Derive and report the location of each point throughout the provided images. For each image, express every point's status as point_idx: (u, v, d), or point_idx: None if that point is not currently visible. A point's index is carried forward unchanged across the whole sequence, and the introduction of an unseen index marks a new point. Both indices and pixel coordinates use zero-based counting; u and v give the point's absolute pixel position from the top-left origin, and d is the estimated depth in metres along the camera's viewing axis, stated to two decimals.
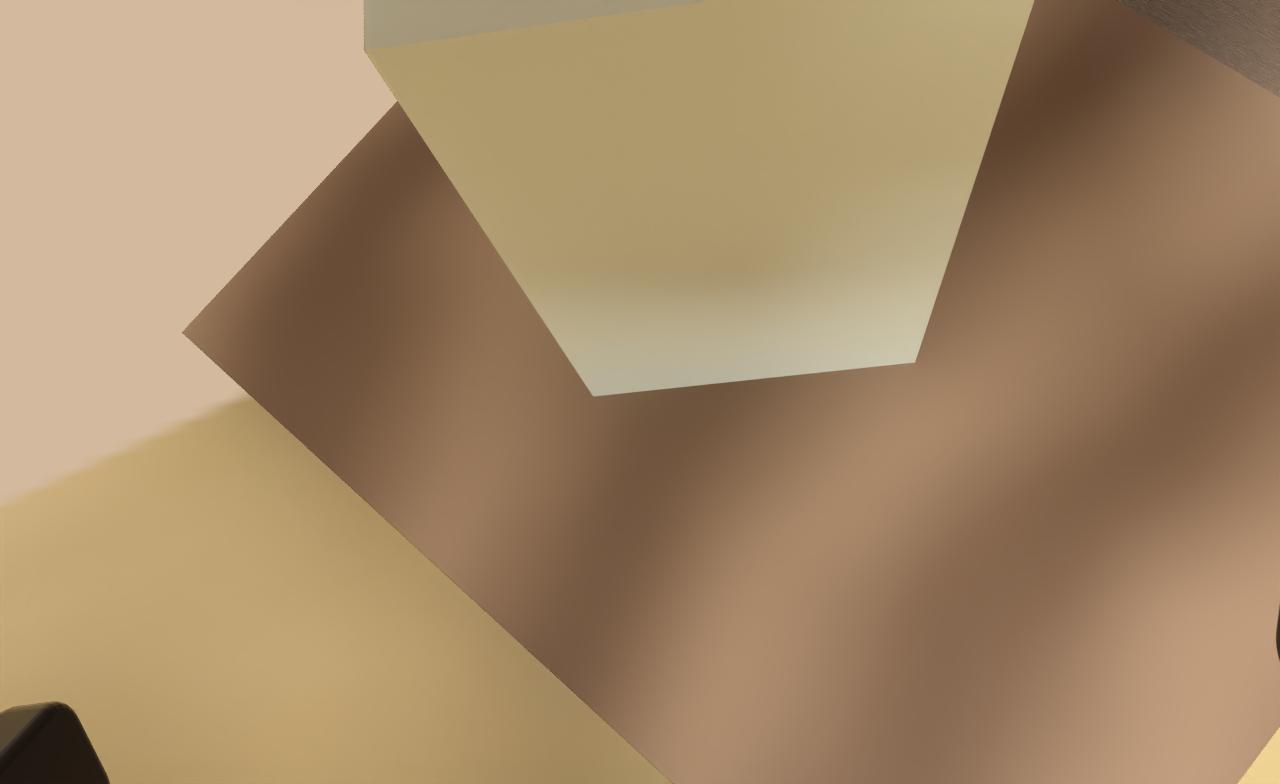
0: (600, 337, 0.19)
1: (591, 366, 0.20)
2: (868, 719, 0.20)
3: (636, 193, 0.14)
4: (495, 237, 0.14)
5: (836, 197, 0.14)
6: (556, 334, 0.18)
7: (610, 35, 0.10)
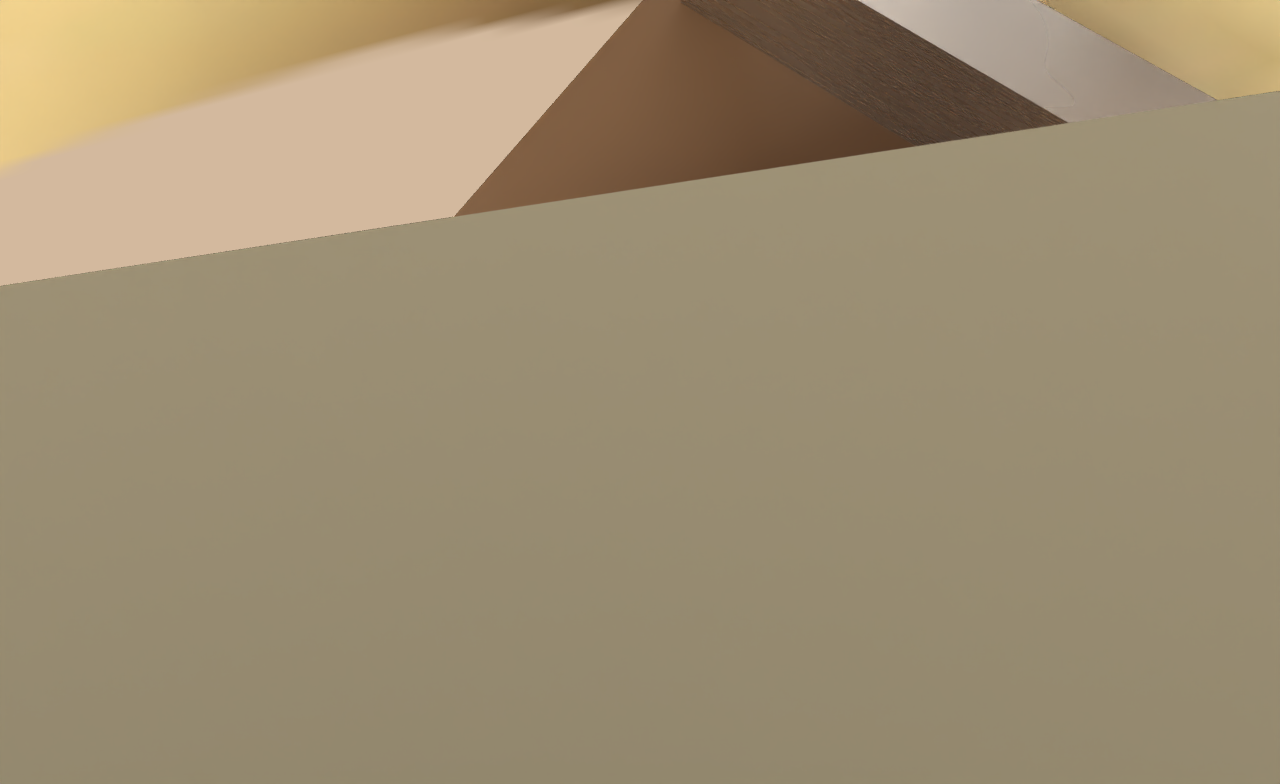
0: None
1: None
2: None
3: None
4: None
5: None
6: None
7: None
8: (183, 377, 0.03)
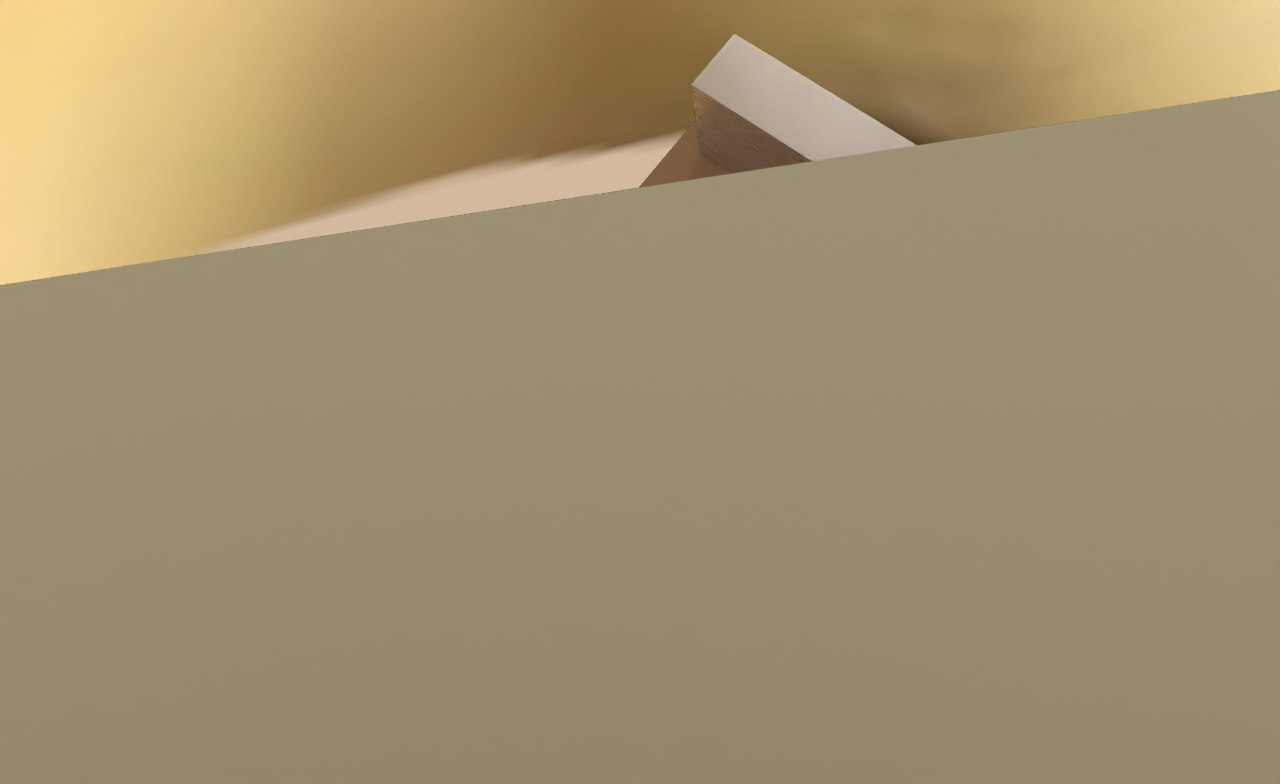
0: None
1: None
2: None
3: None
4: None
5: None
6: None
7: None
8: (183, 377, 0.03)
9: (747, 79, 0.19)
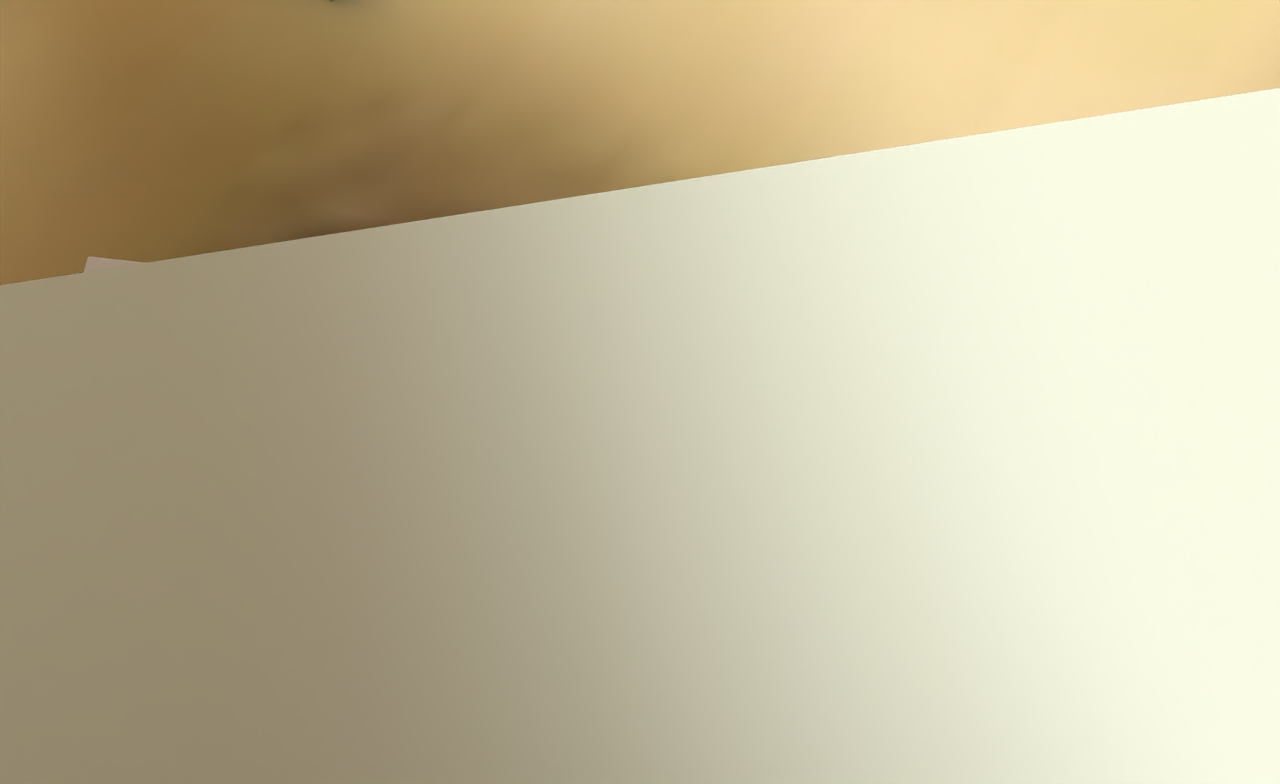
0: None
1: None
2: None
3: None
4: None
5: None
6: None
7: None
8: (178, 377, 0.03)
9: None
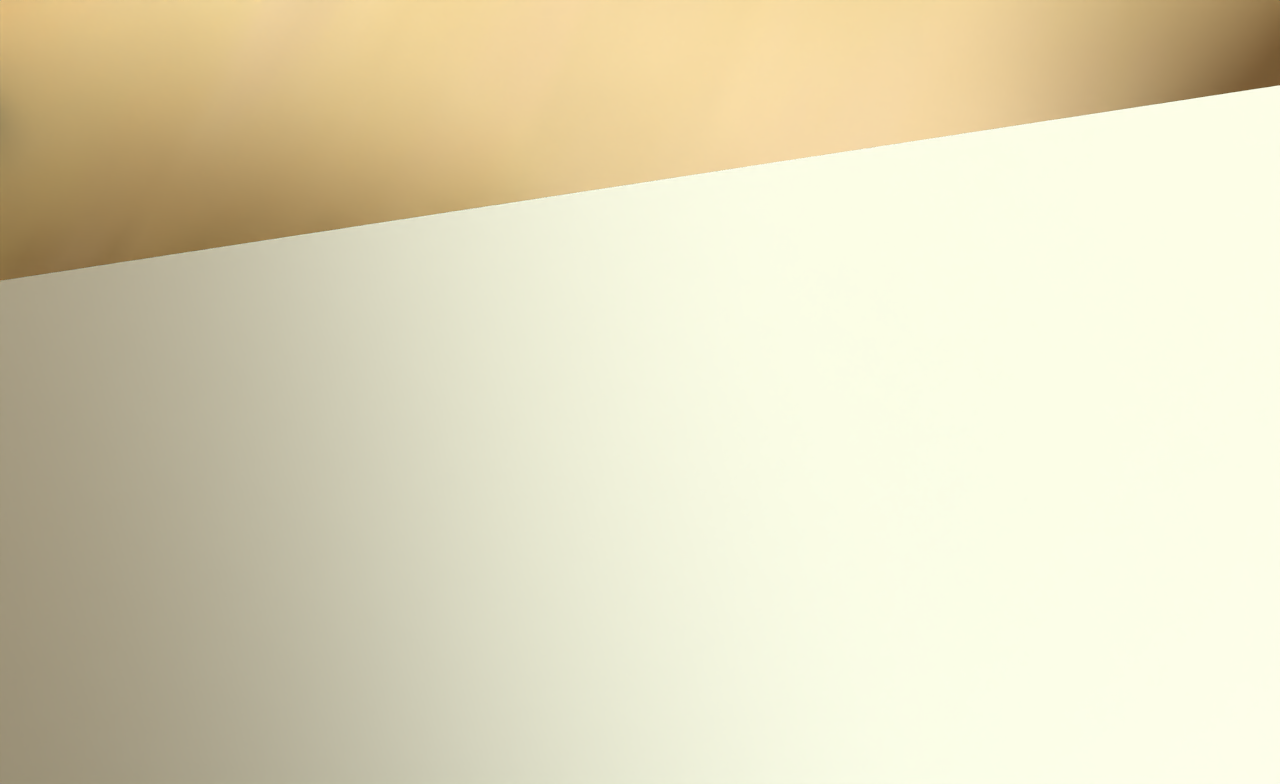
0: None
1: None
2: None
3: None
4: None
5: None
6: None
7: None
8: (186, 370, 0.03)
9: None
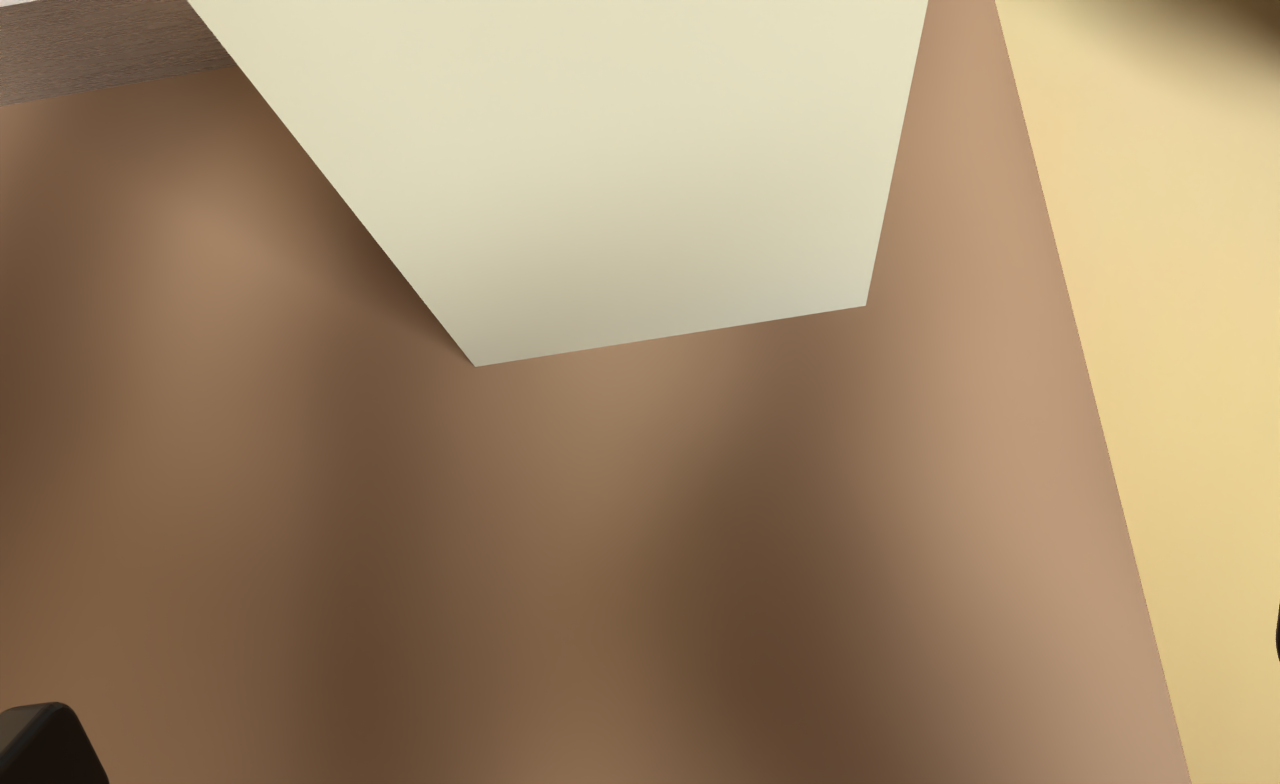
0: (463, 275, 0.15)
1: (462, 320, 0.16)
2: None
3: (458, 13, 0.10)
4: (275, 99, 0.10)
5: (742, 18, 0.10)
6: (404, 270, 0.14)
7: None
8: None
9: None
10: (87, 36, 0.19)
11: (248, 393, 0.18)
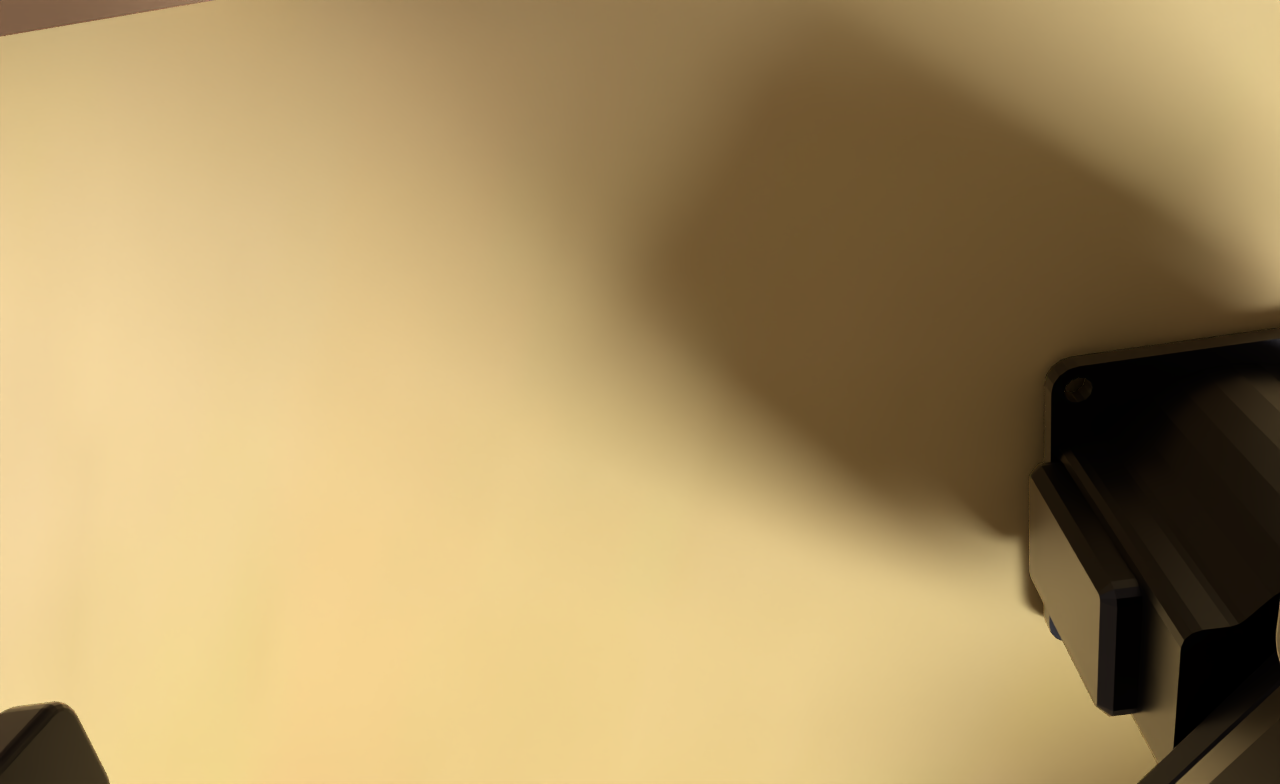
0: None
1: None
2: None
3: None
4: None
5: None
6: None
7: None
8: None
9: None
10: None
11: None
